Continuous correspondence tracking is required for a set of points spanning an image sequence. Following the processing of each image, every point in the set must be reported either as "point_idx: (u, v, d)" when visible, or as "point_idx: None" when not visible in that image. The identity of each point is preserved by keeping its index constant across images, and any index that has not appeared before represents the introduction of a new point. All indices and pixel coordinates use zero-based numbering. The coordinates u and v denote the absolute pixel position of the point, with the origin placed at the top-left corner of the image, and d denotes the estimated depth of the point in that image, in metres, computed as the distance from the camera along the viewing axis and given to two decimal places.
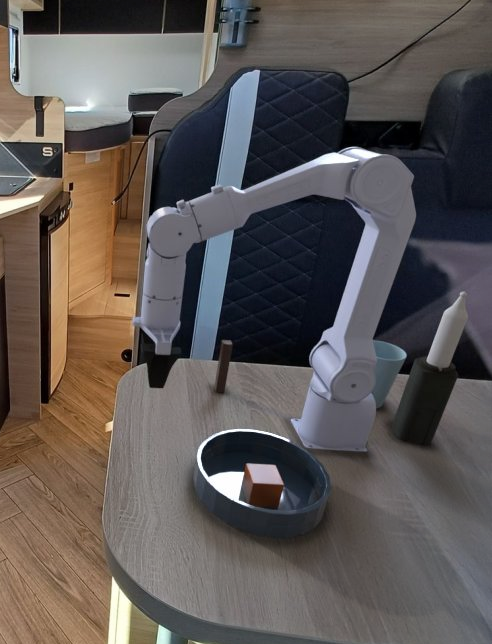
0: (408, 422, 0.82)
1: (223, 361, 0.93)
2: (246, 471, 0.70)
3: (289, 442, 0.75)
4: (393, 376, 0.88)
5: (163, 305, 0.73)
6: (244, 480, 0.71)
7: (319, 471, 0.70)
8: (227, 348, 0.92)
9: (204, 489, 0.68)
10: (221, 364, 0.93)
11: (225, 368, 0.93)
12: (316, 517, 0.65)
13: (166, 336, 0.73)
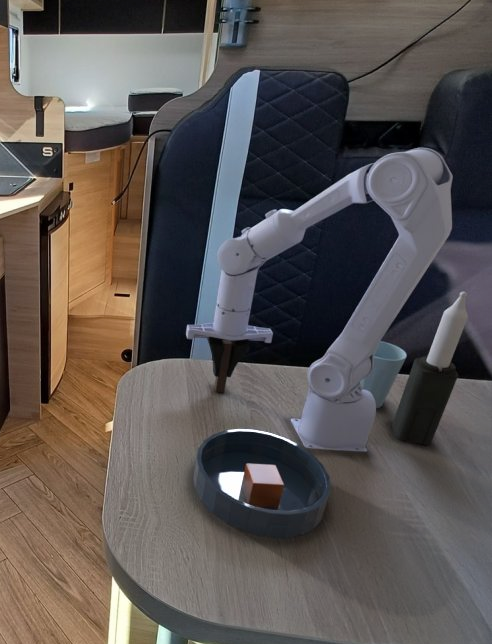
0: (408, 422, 0.82)
1: (223, 361, 0.93)
2: (246, 471, 0.70)
3: (289, 442, 0.75)
4: (393, 376, 0.88)
5: (216, 309, 0.89)
6: (244, 480, 0.71)
7: (319, 471, 0.70)
8: (226, 348, 0.92)
9: (204, 489, 0.68)
10: (221, 364, 0.93)
11: (225, 368, 0.93)
12: (316, 517, 0.65)
13: (202, 330, 0.91)
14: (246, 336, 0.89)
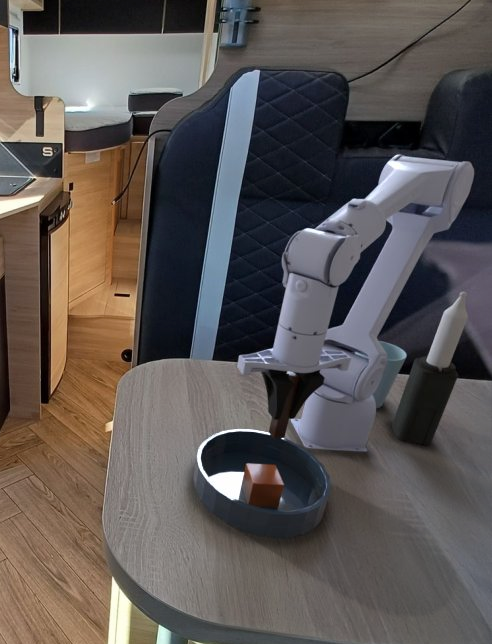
0: (408, 422, 0.82)
1: (286, 399, 0.69)
2: (246, 471, 0.70)
3: (289, 442, 0.75)
4: (393, 376, 0.88)
5: (280, 332, 0.65)
6: (244, 480, 0.71)
7: (319, 471, 0.70)
8: None
9: (204, 489, 0.68)
10: None
11: (288, 408, 0.70)
12: (316, 517, 0.65)
13: (262, 361, 0.66)
14: (322, 365, 0.66)
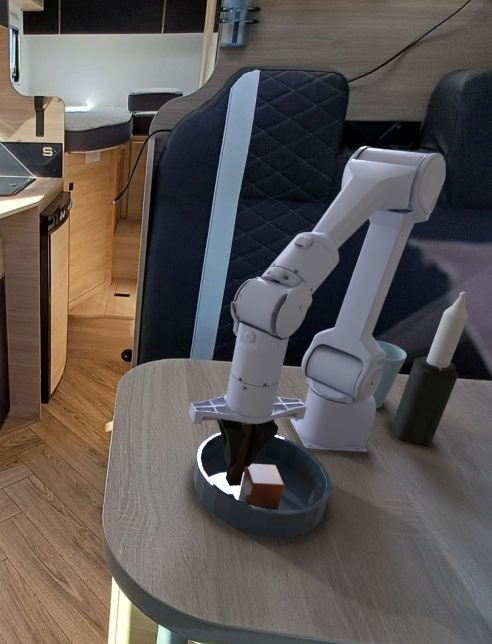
0: (408, 422, 0.82)
1: (240, 447, 0.67)
2: (246, 471, 0.70)
3: (289, 442, 0.75)
4: (393, 376, 0.88)
5: (231, 380, 0.64)
6: (244, 480, 0.71)
7: (319, 471, 0.70)
8: (245, 430, 0.66)
9: (204, 489, 0.68)
10: None
11: (243, 456, 0.68)
12: (316, 517, 0.65)
13: (214, 410, 0.65)
14: (275, 416, 0.64)
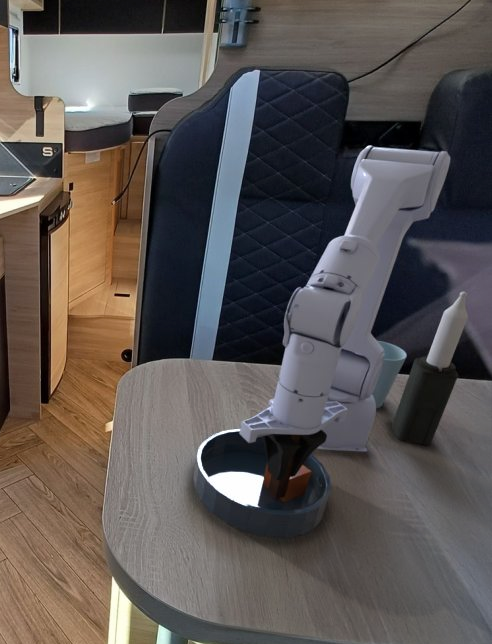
0: (408, 422, 0.82)
1: None
2: None
3: None
4: (393, 376, 0.88)
5: (283, 393, 0.61)
6: (268, 478, 0.71)
7: (319, 471, 0.70)
8: None
9: (204, 489, 0.68)
10: None
11: (289, 467, 0.67)
12: (316, 517, 0.65)
13: (267, 426, 0.62)
14: (325, 423, 0.63)
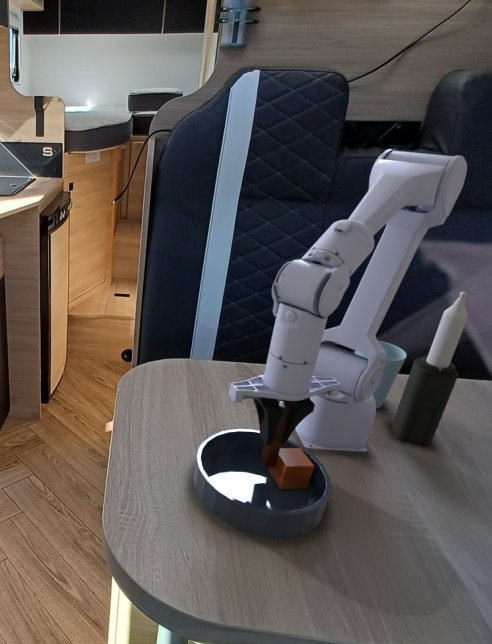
0: (408, 422, 0.82)
1: (278, 429, 0.70)
2: None
3: (289, 442, 0.75)
4: (393, 376, 0.88)
5: (270, 360, 0.66)
6: None
7: (319, 471, 0.70)
8: None
9: (204, 489, 0.68)
10: (275, 433, 0.70)
11: (279, 437, 0.71)
12: (316, 517, 0.65)
13: (253, 389, 0.67)
14: (312, 393, 0.66)
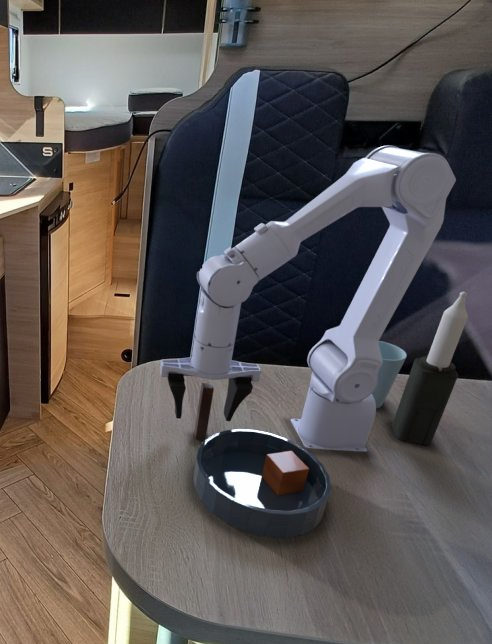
0: (408, 422, 0.82)
1: (203, 407, 0.79)
2: (269, 462, 0.72)
3: (289, 442, 0.75)
4: (393, 376, 0.88)
5: (194, 342, 0.76)
6: (266, 471, 0.73)
7: (319, 471, 0.70)
8: (207, 393, 0.78)
9: (204, 489, 0.68)
10: (201, 411, 0.80)
11: (205, 415, 0.80)
12: (316, 517, 0.65)
13: (178, 367, 0.77)
14: (229, 375, 0.75)
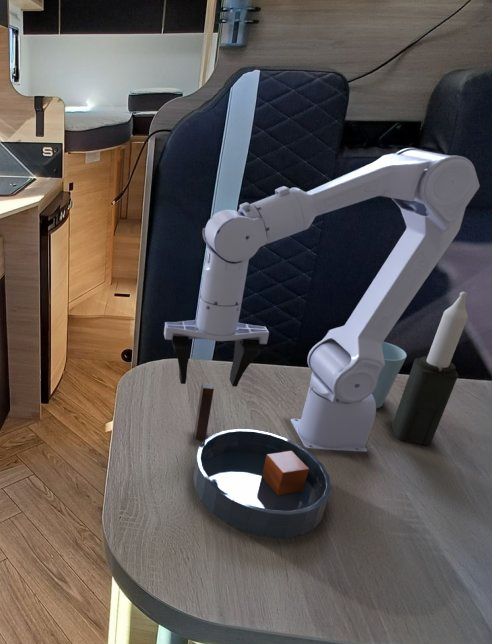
0: (408, 422, 0.82)
1: (203, 407, 0.79)
2: (269, 462, 0.72)
3: (289, 442, 0.75)
4: (393, 376, 0.88)
5: (199, 302, 0.73)
6: (266, 471, 0.73)
7: (319, 471, 0.70)
8: (207, 393, 0.78)
9: (204, 489, 0.68)
10: (201, 411, 0.80)
11: (205, 415, 0.80)
12: (316, 517, 0.65)
13: (183, 328, 0.74)
14: (236, 336, 0.72)
